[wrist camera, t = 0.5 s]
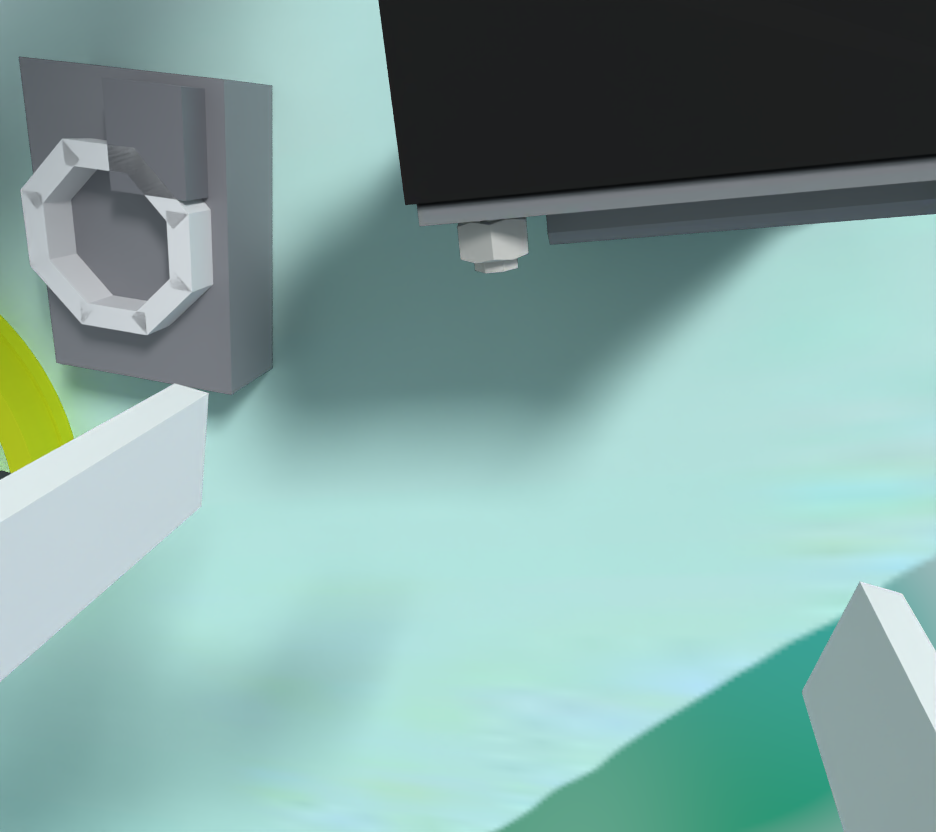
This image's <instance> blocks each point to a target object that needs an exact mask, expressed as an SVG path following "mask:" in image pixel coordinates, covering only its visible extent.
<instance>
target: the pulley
mask: <svg viewBox="0 0 936 832" xmlns="http://www.w3.org/2000/svg"><path fill="white" fill-rule="evenodd" d="M73 439H74V438H73V434H72V431H71V428H70V425H69V422H68V419H67V416H66V414H65V411H64V409H63V406H62V404H61V402H60V400H59V397H58V395H57V393H56V391H55V389H54V387H53V385H52V384H51V382H50V380H49V378H48V376H47V375H46V373H45V371H44V370H43V368H42V366H41V365H40V363H39V362H38V360H37V359H36V357H35V356H34V354H33V353H32V352H31V350H30V349H29V348H28V346H27V345H26V344H25V342H24V341H23V340H22V339H21V337H20V336H19V335H18V334H17V333H16V331H15V330H14V329H13V328H12V327H11V326H10V325H9V323H8V322H7V321H6V320H5V319H4V318H3V317H2V316H1V315H0V442H1V445H2V447H3V450H4V453H5V456H6V459H7V462H8V466H9V469H10V473H13V472H15V471H17V470H19V469H21V468H23V467H24V466H26V465H28V464H30V463H32V462H33V461H35V460H37V459H39V458H41V457H42V456H44V455H46V454H48V453H50V452H51V451H53V450H55V449H57V448H59V447H61V446H62V445H64V444H66V443H68V442H70V441H71V440H73Z"/></svg>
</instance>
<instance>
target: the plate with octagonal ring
mask: <svg viewBox="0 0 936 832" xmlns="http://www.w3.org/2000/svg"><path fill="white" fill-rule="evenodd" d="M19 62H20V70H21V78H22V87H23V95H24V103H25V111H26V119H27V127H28V135H29V143H30V152H31V160H32V168H33V175H32V176H31V177H30V179H29V180H28V181H27V182H26V184H25V185H24V186H23V187H22V188H21V190H20V191H21V199H22V207H23V214H24V222H25V230H26V237H27V245H28V253H29V260H30V266H31V267H32V268H33V270H34V271H35V272H36V273H37V274H38V275H39V276H40V277H41V279H42V280H43V281H44V282H45V283H46V284H47V290H48V298H49V306H50V314H51V323H52V331H53V339H54V347H55V355H56V363H61V364H66V365H72V366H77V367H82V368H88V369H93V370H99V371H104V372H110V373H115V374H121V375H126V376H132V377H137V378H142V379H148V380H153V381H159V382H164V383H170V384H174V383H175V384H179V385H182V386H186V387H192V388H197V389H203V390H208V391H213V392H219V393H224V394H230V395H232V394H234V393H235V392H237V391H238V390H240V389H241V388H243V387H244V386H246V385H247V384H249V383H250V382H252V381H253V380H255V379H256V378H258V377H260V376H261V375H263V374H264V373H266V372H267V371H269V370H270V369H272V85H264V84H256V83H248V82H240V81H232V80H225V79H216V78H207V77H198V76H189V75H180V74H171V73H162V72H153V71H144V70H135V69H126V68H117V67H108V66H99V65H90V64H81V63H72V62H63V61H54V60H45V59H36V58H27V57H19Z"/></svg>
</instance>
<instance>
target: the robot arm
mask: <svg viewBox="0 0 936 832" xmlns="http://www.w3.org/2000/svg"><path fill="white" fill-rule="evenodd" d="M208 397H209V393H206V392H203V391H199V390H196V389H192V388H189V387H186V386H182V385H179V384H175V383H174V384H173V385H171V386H169V387H167V388H165V389H164V390H162V391H160V392H158V393H156V394H155V395H153V396H151V397H149V398H147V399H146V400H144V401H142V402H140V403H138V404H136V405H135V406H133V407H131V408H129V409H127V410H126V411H124V412H122V413H120V414H118V415H117V416H115V417H113V418H111V419H109V420H108V421H106V422H104V423H102V424H100V425H98V426H97V427H95V428H93V429H91V430H89V431H88V432H86V433H84V434H82V435H80V436H79V437H77V438H75V439H73V440H71V441H70V442H68V443H66V444H64V445H62V446H61V447H59V448H57V449H55V450H53V451H51V452H50V453H48V454H46V455H44V456H42V457H41V458H39V459H37V460H35V461H33V462H32V463H30V464H28V465H26V466H24V467H23V468H21V469H19V470H17V471H15V472H13V473H8V472H5V471H0V682H1V681H2V680H3V679H4V678H5V677H6V676H8V675H9V674H10V673H11V672H12V671H13V670H14V669H16V668H17V667H18V666H19V665H20V664H21V663H23V662H24V661H25V660H26V659H27V658H28V657H29V656H31V655H32V654H33V653H34V652H35V651H36V650H37V649H39V648H40V647H41V646H42V645H43V644H44V643H45V642H47V641H48V640H49V639H50V638H51V637H52V636H53V635H55V634H56V633H57V632H58V631H59V630H60V629H61V628H63V627H64V626H65V625H66V624H67V623H68V622H69V621H71V620H72V619H73V618H74V617H75V616H76V615H78V614H79V613H80V612H81V611H82V610H83V609H84V608H86V607H87V606H88V605H89V604H90V603H91V602H92V601H94V600H95V599H96V598H97V597H98V596H99V595H100V594H102V593H103V592H104V591H105V590H106V589H107V588H108V587H110V586H111V585H112V584H113V583H114V582H115V581H116V580H118V579H119V578H120V577H121V576H122V575H123V574H124V573H126V572H127V571H128V570H129V569H130V568H131V567H133V566H134V565H135V564H136V563H137V562H138V561H139V560H141V559H142V558H143V557H144V556H145V555H146V554H147V553H149V552H150V551H151V550H152V549H153V548H154V547H155V546H157V545H158V544H159V543H160V542H161V541H162V540H163V539H165V538H166V537H167V536H168V535H169V534H170V533H171V532H173V531H174V530H175V529H176V528H177V527H178V526H179V525H181V524H182V523H183V522H184V521H185V520H186V519H188V518H189V517H190V516H191V515H192V514H193V513H194V512H196V511H197V510H198V509H199V508H200V507H201V502H202V487H203V472H204V457H205V442H206V427H207V412H208ZM802 694H803V698H804V701H805V704H806V707H807V711H808V714H809V718H810V721H811V724H812V727H813V731H814V734H815V737H816V741H817V744H818V747H819V750H820V754H821V757H822V760H823V764H824V767H825V770H826V774H827V777H828V780H829V784H830V787H831V790H832V793H833V797H834V800H835V804H836V807H837V810H838V813H839V817H840V820H841V823H842V827H843V830H844V832H936V651H935V649H934V647H933V646H932V644H931V642H930V641H929V639H928V637H927V636H926V634H925V632H924V630H923V629H922V627H921V625H920V623H919V622H918V620H917V618H916V616H915V615H914V613H913V611H912V610H911V608H910V606H909V605H908V603H907V601H906V599H905V598H904V596H903V594H901V593H898V592H895V591H891V590H888V589H884V588H881V587H877V586H874V585H871V584H867V583H864V582H859V584H858V586H857V588H856V590H855V591H854V593H853V595H852V597H851V599H850V601H849V603H848V605H847V607H846V609H845V610H844V612H843V614H842V616H841V618H840V620H839V622H838V624H837V626H836V628H835V630H834V631H833V634H832V635H831V637H830V639H829V641H828V643H827V645H826V647H825V649H824V650H823V652H822V654H821V656H820V658H819V660H818V662H817V664H816V666H815V668H814V669H813V672H812V673H811V675H810V677H809V679H808V681H807V683H806V685H805V687H804V689H803V690H802Z"/></svg>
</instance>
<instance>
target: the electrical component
mask: <svg viewBox="0 0 936 832" xmlns="http://www.w3.org/2000/svg"><path fill="white" fill-rule="evenodd" d="M379 8H380V16H381V23H382V31H383V39H384V46H385V54H386V62H387V69H388V77H389V84H390V92H391V100H392V107H393V115H394V123H395V130H396V138H397V145H398V153H399V161H400V168H401V176H402V184H403V191H404V199H405V205H410V204H417V210H418V218H419V226H429V225H440V224H451V223H458V226H457V229H458V239H459V248H460V257H461V260H464V261H468V262H472V263H474V264H475V271H478V272H482V273H494V272H505V271H508V270H512V269H515V268H518V262H517V258H519V257H522V256H524V255H527V254H528V237H527V223H526V217H529V216H540V215H546V217H547V231H548V237H549V242H550V245H552V244H564V243H577V242H589V241H602V240H614V239H627V238H640V237H652V236H665V235H677V234H690V233H702V232H715V231H727V230H740V229H752V228H765V227H777V226H790V225H802V224H815V223H827V222H840V221H852V220H865V219H877V218H890V217H902V216H915V215H927V214H936V0H379Z"/></svg>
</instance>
